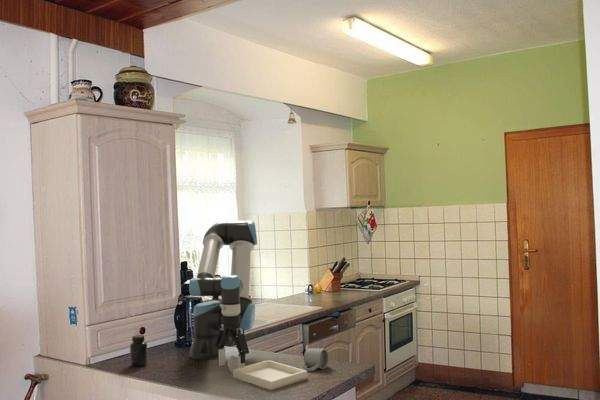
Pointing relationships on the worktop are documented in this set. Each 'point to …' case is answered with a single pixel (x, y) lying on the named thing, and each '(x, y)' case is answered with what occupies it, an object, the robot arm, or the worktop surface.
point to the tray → (270, 374)
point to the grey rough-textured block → (233, 363)
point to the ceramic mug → (315, 359)
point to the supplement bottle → (138, 351)
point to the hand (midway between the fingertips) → (231, 368)
